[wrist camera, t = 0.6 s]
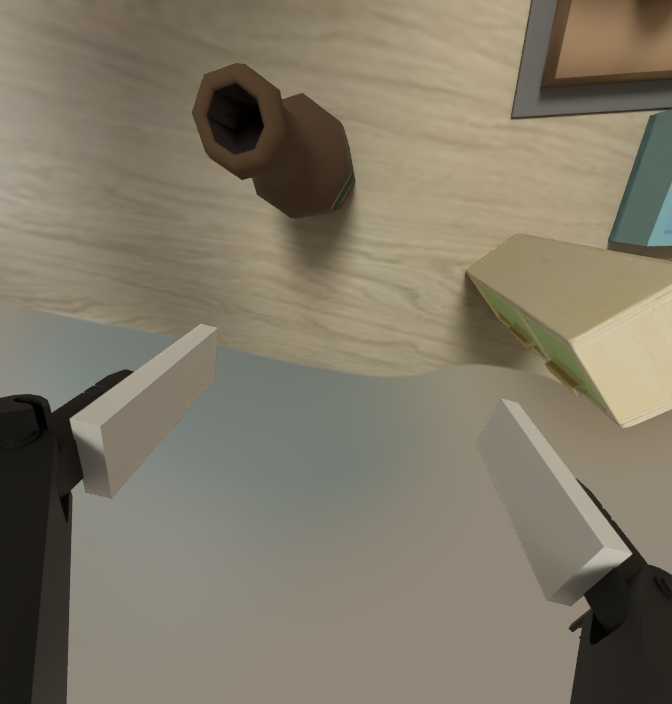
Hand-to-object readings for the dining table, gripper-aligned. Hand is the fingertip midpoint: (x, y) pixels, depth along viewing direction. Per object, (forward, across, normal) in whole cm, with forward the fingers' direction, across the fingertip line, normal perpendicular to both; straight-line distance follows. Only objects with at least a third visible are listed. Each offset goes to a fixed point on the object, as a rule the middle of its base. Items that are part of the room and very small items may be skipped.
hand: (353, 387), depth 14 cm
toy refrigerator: (+26, +16, +3) cm, 31 cm away
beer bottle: (+26, -7, +9) cm, 28 cm away
